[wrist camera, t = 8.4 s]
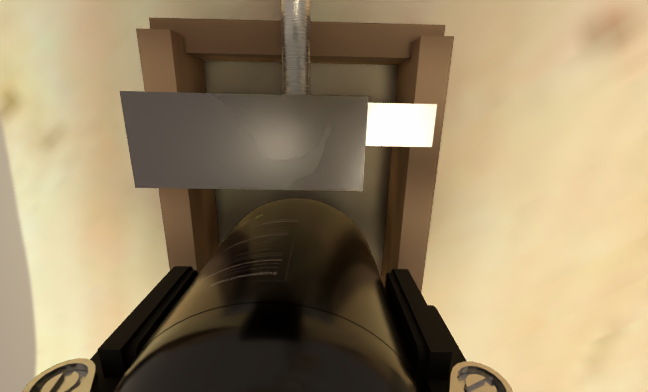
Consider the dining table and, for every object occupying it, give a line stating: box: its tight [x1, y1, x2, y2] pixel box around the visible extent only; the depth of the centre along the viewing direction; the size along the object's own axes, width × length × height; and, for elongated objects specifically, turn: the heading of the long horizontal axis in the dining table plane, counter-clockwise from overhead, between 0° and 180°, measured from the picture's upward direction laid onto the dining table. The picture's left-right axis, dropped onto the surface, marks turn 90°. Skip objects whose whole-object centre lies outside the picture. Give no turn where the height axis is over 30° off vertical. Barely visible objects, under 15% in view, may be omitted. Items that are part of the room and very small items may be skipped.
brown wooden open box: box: [136, 18, 454, 292], centre depth 14 cm, size 23×11×6 cm, turn 179°
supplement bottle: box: [113, 198, 422, 392], centre depth 8 cm, size 7×7×12 cm
